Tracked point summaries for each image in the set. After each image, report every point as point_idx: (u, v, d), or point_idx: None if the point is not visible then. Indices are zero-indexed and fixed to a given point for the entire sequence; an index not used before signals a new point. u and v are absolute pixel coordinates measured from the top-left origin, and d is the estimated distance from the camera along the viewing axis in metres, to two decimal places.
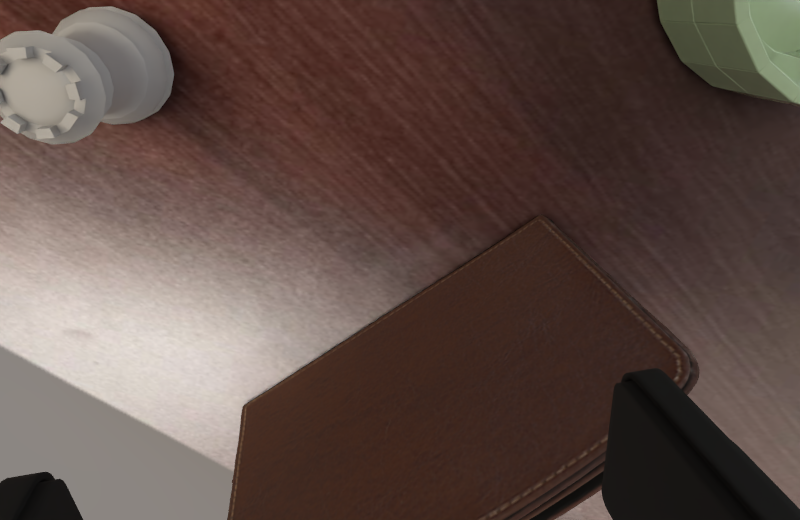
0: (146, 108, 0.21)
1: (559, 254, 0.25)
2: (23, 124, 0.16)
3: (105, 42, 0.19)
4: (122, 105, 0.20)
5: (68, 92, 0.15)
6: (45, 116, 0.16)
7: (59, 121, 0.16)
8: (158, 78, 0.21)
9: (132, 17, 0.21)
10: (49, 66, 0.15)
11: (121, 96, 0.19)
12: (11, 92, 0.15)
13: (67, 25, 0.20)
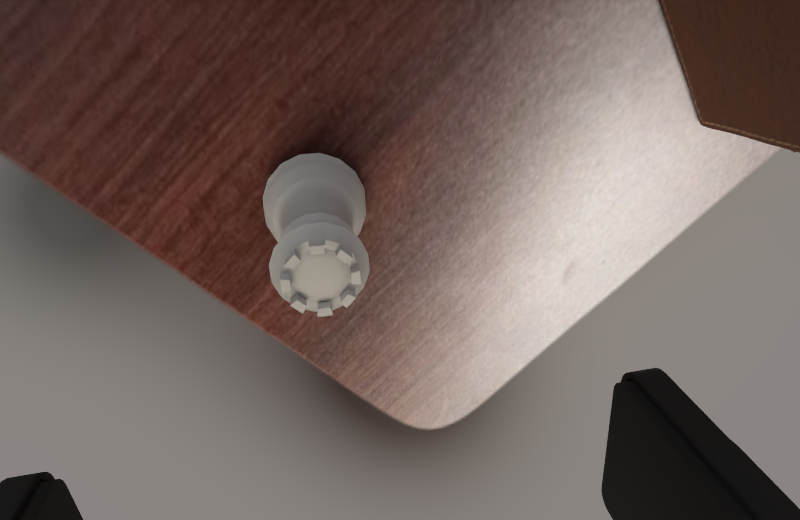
0: (350, 183, 0.22)
1: None
2: (348, 291, 0.17)
3: (287, 210, 0.20)
4: (344, 204, 0.21)
5: (318, 253, 0.16)
6: (341, 273, 0.17)
7: (346, 263, 0.17)
8: (321, 168, 0.22)
9: (270, 182, 0.23)
10: (295, 264, 0.16)
11: (334, 205, 0.20)
12: (320, 295, 0.17)
13: (278, 237, 0.22)
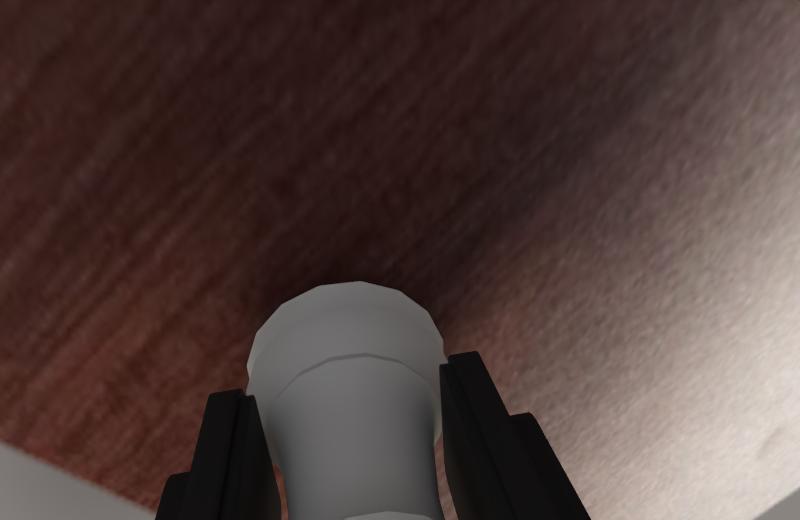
0: (425, 351, 0.11)
1: None
2: None
3: (295, 443, 0.09)
4: (419, 418, 0.10)
5: None
6: None
7: None
8: (367, 328, 0.10)
9: (261, 340, 0.11)
10: None
11: (404, 438, 0.09)
12: None
13: None
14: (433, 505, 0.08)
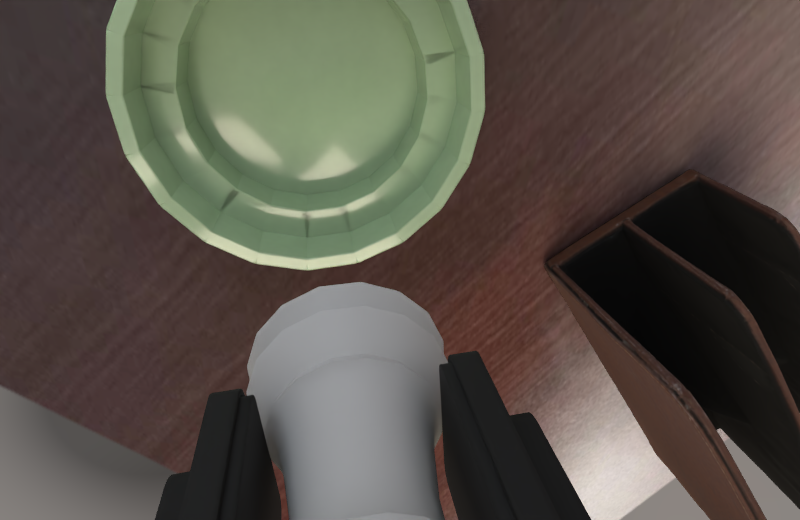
0: (425, 352, 0.11)
1: (580, 306, 0.29)
2: None
3: (295, 444, 0.09)
4: (419, 419, 0.10)
5: None
6: None
7: None
8: (367, 328, 0.10)
9: (261, 341, 0.11)
10: None
11: (404, 439, 0.09)
12: None
13: (278, 455, 0.11)
14: (433, 506, 0.08)
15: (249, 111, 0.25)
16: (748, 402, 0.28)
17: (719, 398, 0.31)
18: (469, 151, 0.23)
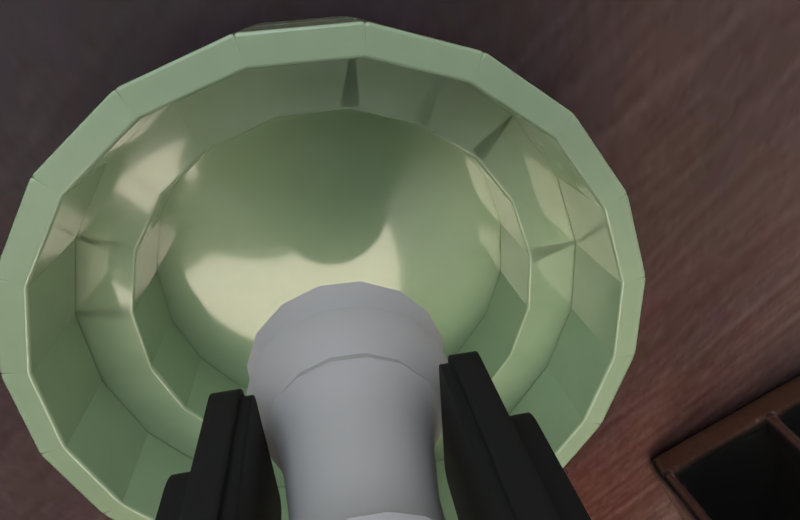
0: (425, 352, 0.11)
1: None
2: None
3: (296, 443, 0.09)
4: (419, 418, 0.10)
5: None
6: None
7: None
8: (367, 328, 0.10)
9: (260, 340, 0.11)
10: None
11: (404, 438, 0.09)
12: None
13: None
14: (433, 506, 0.08)
15: (251, 306, 0.17)
16: None
17: None
18: (602, 408, 0.14)
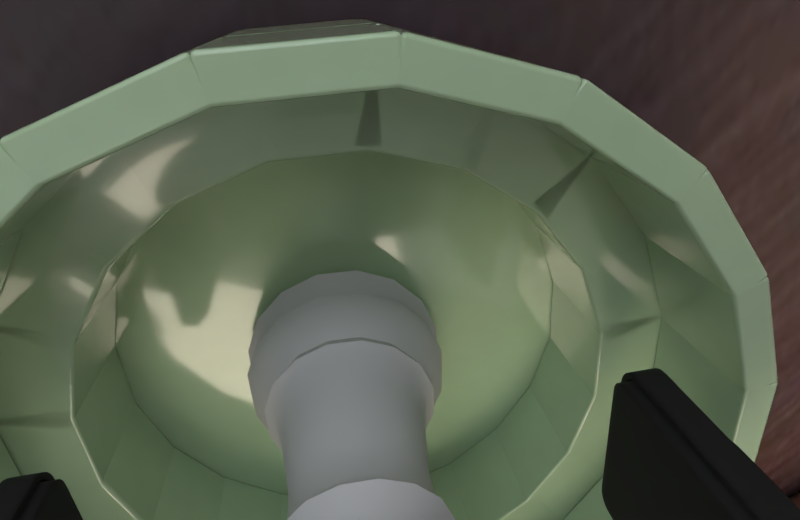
0: (417, 337, 0.11)
1: None
2: None
3: (294, 420, 0.10)
4: (411, 398, 0.10)
5: None
6: None
7: None
8: (362, 313, 0.11)
9: (261, 326, 0.12)
10: None
11: (395, 415, 0.09)
12: None
13: None
14: (422, 476, 0.09)
15: (238, 385, 0.13)
16: None
17: None
18: None
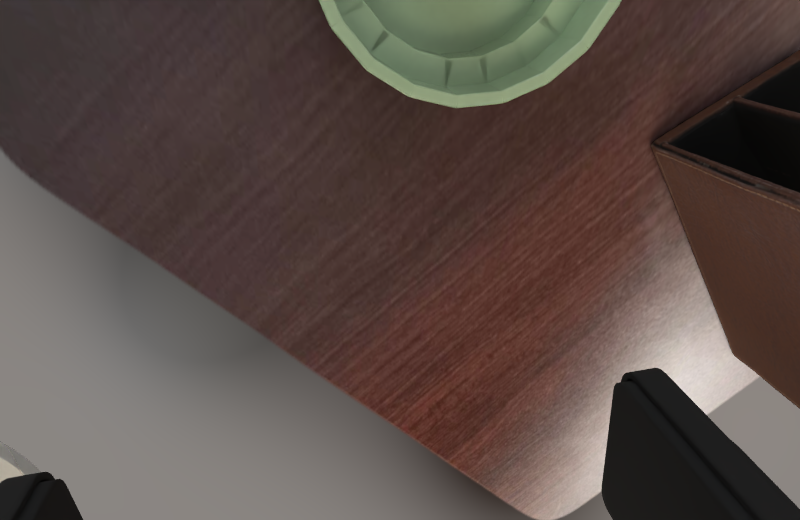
0: None
1: (695, 173, 0.29)
2: None
3: None
4: None
5: None
6: None
7: None
8: None
9: None
10: None
11: None
12: None
13: None
14: None
15: None
16: None
17: None
18: None
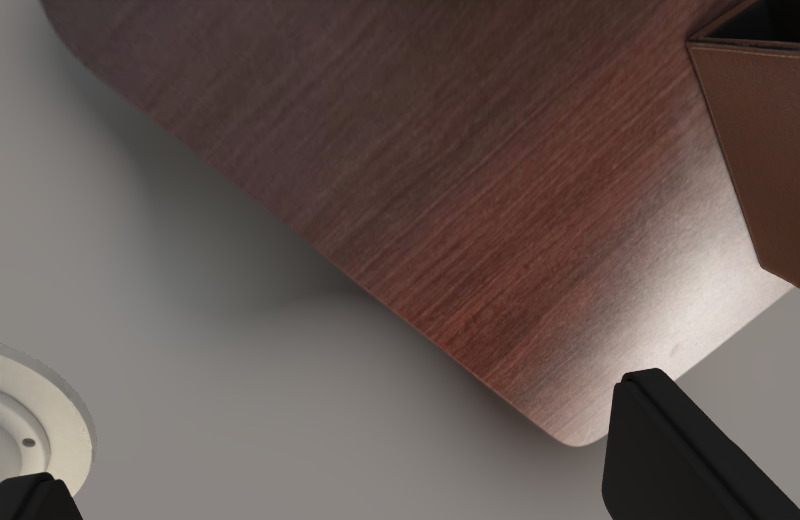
0: None
1: (733, 58, 0.30)
2: None
3: None
4: None
5: None
6: None
7: None
8: None
9: None
10: None
11: None
12: None
13: None
14: None
15: None
16: None
17: None
18: None
